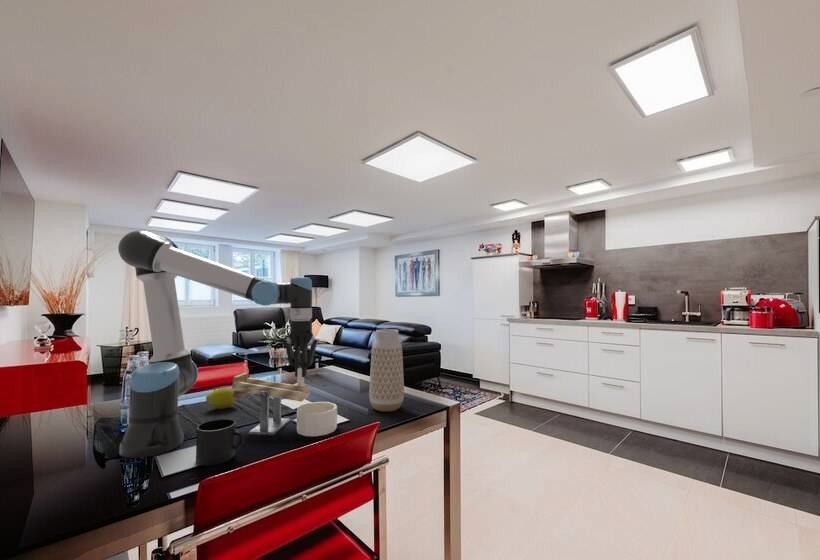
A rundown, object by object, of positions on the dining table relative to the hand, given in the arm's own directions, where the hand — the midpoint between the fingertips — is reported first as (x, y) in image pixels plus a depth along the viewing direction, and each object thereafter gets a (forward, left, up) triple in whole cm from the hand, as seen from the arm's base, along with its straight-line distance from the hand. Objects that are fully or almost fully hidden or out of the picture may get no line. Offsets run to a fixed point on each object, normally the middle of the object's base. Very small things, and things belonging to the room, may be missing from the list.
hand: (300, 385), depth 127 cm
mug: (-10, -31, -12) cm, 35 cm away
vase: (+29, +16, -12) cm, 35 cm away
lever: (-8, -4, -3) cm, 9 cm away
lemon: (-35, +9, -12) cm, 38 cm away
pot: (+9, -8, -12) cm, 17 cm away
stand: (-7, -8, -12) cm, 16 cm away
